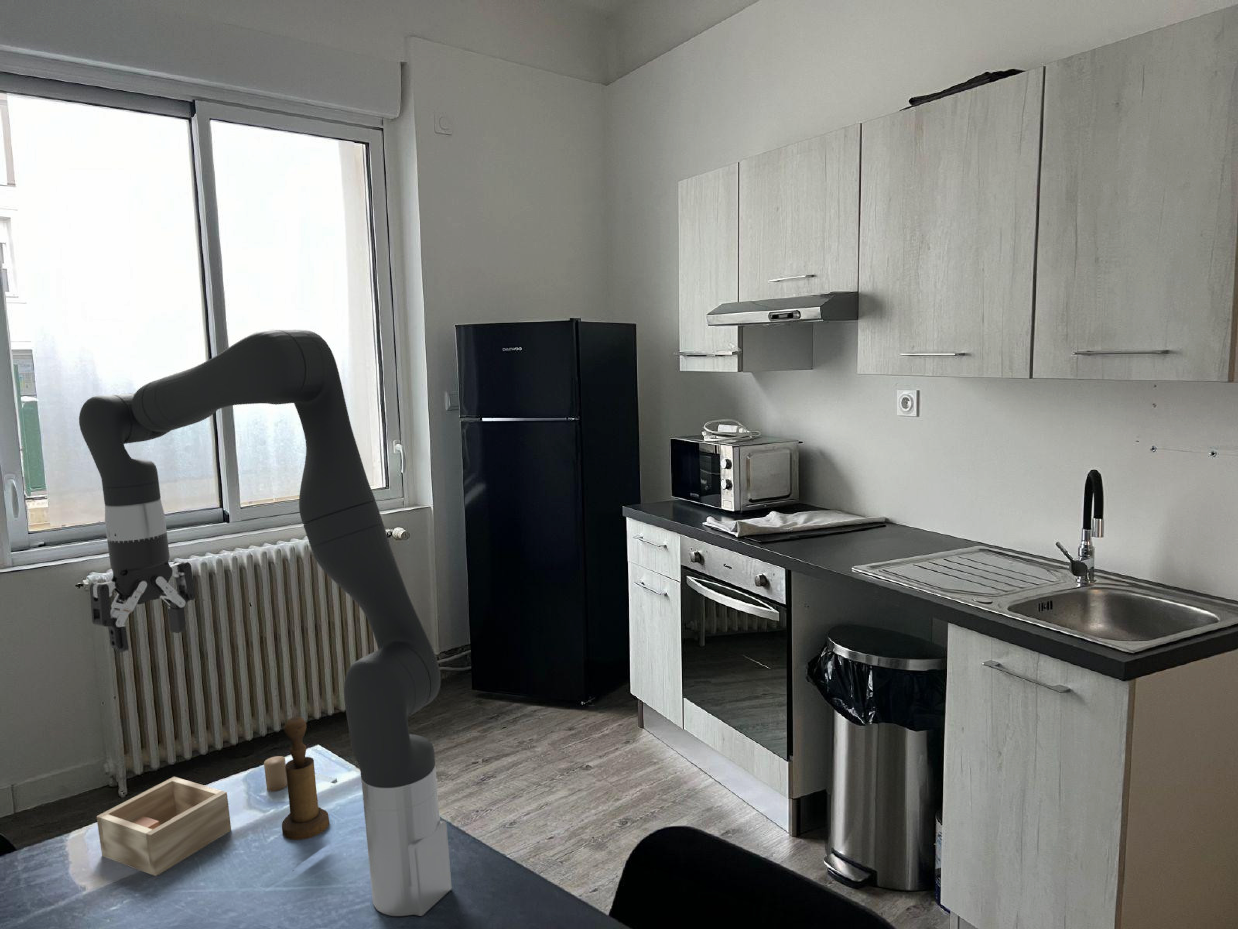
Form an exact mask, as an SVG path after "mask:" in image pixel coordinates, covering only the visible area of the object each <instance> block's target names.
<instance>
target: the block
mask: <svg viewBox="0 0 1238 929" xmlns="http://www.w3.org/2000/svg"><path fill="white" fill-rule="evenodd" d="M132 823H135V824H138V825H141V826H144V827H147V828H149V829H152V830H153V829H155V828H156V827H158V826H160V824H159V821H157V820H154V819H151V818H148V817H145V816H143V817H141V818H139V819H137V820H136V821H134V822H132Z"/></svg>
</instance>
